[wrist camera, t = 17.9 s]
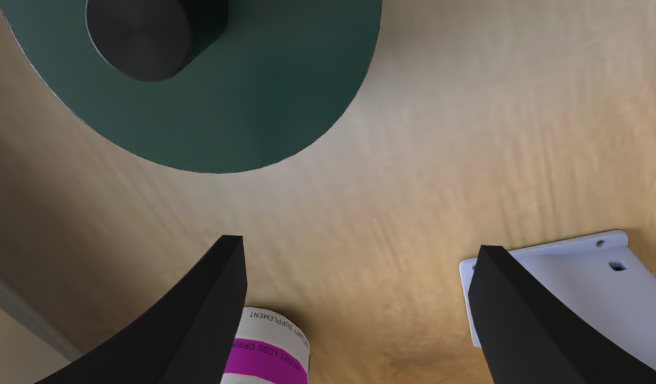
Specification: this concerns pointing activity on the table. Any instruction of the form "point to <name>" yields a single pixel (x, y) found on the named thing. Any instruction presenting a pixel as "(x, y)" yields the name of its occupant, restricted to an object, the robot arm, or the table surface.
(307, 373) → the supplement can
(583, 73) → the table surface
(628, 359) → the robot arm
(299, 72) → the pot lid
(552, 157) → the table surface
